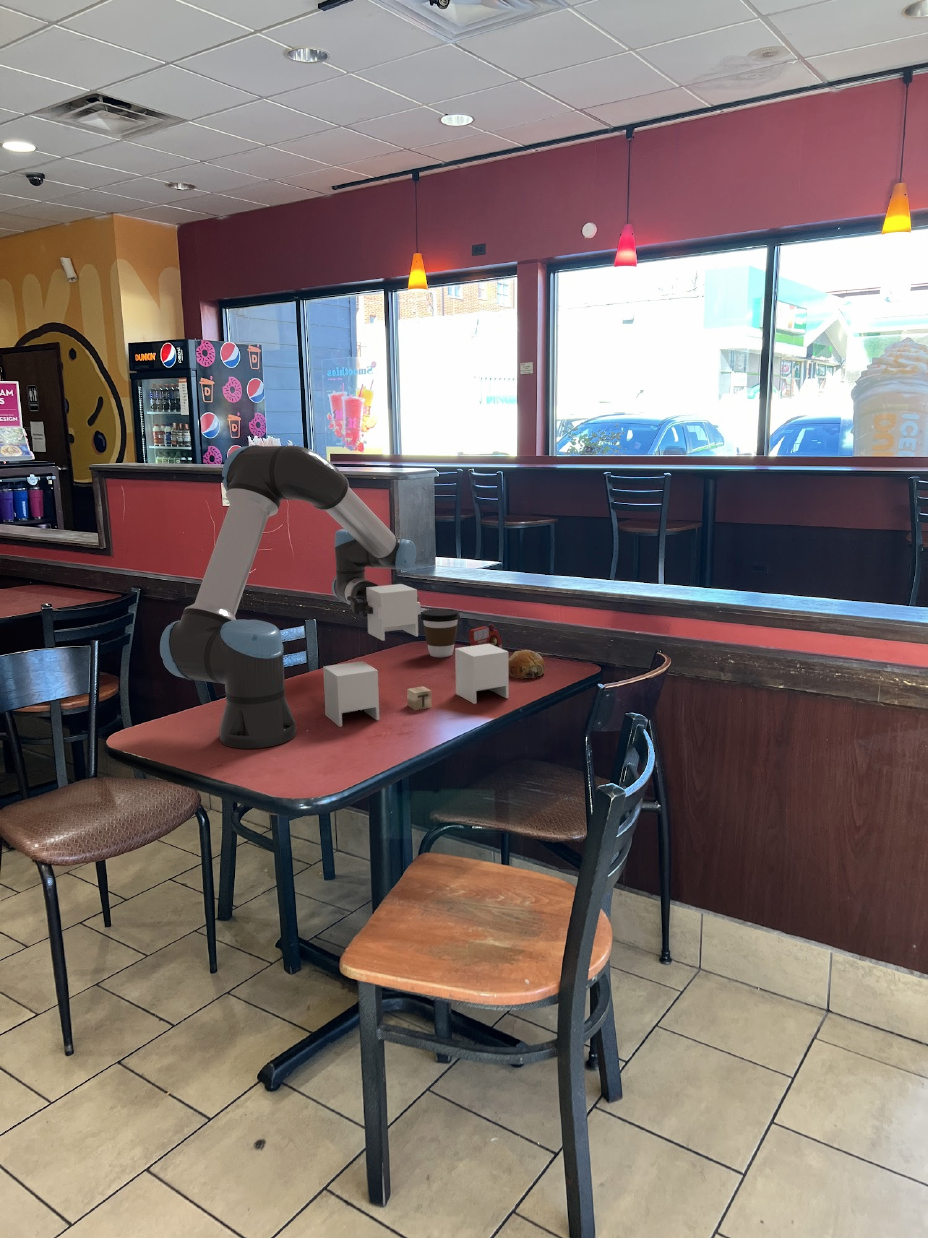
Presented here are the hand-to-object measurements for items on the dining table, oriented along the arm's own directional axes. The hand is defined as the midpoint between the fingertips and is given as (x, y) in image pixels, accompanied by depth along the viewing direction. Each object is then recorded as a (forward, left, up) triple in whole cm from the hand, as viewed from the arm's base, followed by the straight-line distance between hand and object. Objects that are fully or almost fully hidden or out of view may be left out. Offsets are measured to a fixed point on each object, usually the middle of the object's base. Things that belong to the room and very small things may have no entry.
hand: (399, 610), depth 203 cm
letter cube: (0, -10, -20) cm, 23 cm away
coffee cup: (+25, +30, -20) cm, 44 cm away
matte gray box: (+16, -10, -20) cm, 28 cm away
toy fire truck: (+31, +15, -20) cm, 40 cm away
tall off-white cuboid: (0, +5, -6) cm, 8 cm away
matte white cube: (-16, -10, -20) cm, 28 cm away
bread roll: (+35, +1, -21) cm, 40 cm away
